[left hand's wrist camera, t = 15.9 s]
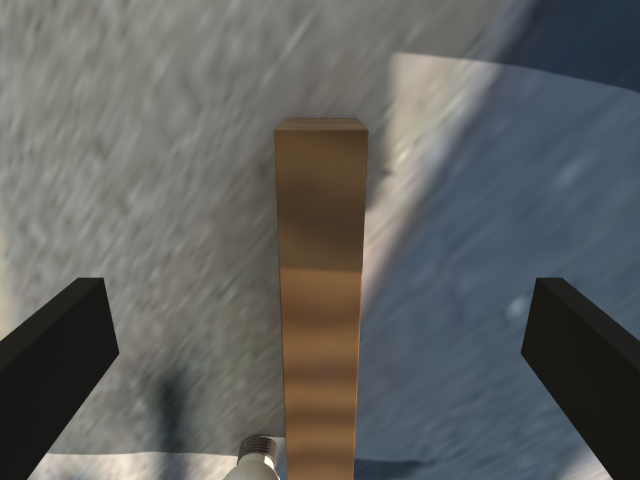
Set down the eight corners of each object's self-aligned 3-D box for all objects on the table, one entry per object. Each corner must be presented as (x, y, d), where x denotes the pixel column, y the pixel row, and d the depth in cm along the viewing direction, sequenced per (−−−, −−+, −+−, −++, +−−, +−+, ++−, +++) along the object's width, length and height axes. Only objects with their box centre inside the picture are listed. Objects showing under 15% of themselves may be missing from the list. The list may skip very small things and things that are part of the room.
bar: (284, 118, 33) (274, 129, 26) (357, 118, 33) (368, 129, 26) (293, 438, 45) (287, 511, 38) (346, 438, 45) (351, 511, 38)
